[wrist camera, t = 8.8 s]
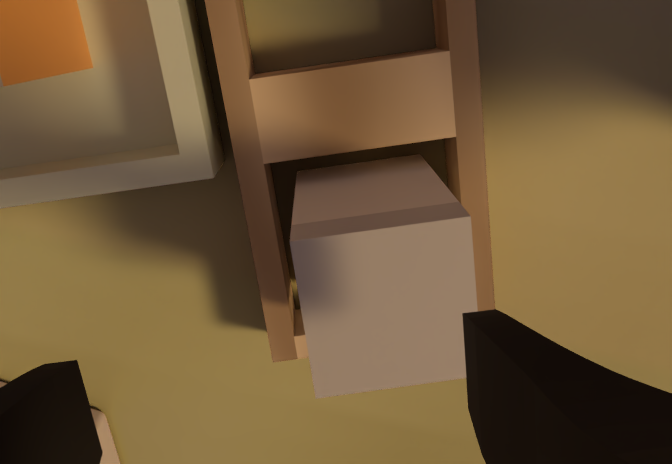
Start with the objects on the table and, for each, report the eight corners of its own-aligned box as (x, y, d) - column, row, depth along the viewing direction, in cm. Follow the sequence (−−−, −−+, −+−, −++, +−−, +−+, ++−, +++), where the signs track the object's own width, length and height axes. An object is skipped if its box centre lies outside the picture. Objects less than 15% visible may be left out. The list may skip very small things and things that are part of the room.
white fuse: (419, 154, 21) (471, 216, 14) (430, 268, 22) (482, 375, 15) (297, 171, 21) (289, 241, 14) (314, 284, 22) (315, 398, 15)
